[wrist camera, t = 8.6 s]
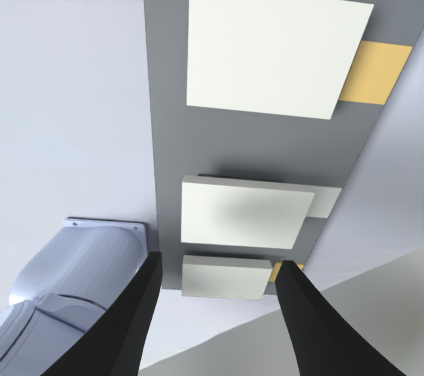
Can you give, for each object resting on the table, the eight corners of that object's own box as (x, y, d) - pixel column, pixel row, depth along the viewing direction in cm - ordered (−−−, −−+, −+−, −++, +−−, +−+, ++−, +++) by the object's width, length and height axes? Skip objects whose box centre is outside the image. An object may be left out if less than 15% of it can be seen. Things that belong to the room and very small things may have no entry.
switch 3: (182, 287, 25) (181, 296, 24) (183, 255, 22) (182, 263, 21) (258, 290, 25) (260, 300, 24) (269, 260, 22) (272, 269, 21)
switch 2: (182, 232, 18) (181, 242, 17) (184, 175, 15) (182, 182, 14) (287, 239, 18) (291, 249, 17) (308, 185, 15) (315, 192, 14)
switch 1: (188, 103, 14) (186, 105, 13) (191, -11, 11) (189, -21, 10) (321, 116, 14) (330, 119, 13) (359, 11, 11) (374, 4, 10)
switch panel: (164, 275, 28) (160, 292, 26) (149, -43, 12) (136, -69, 10) (284, 282, 29) (290, 299, 27) (414, -6, 13) (455, -23, 11)
